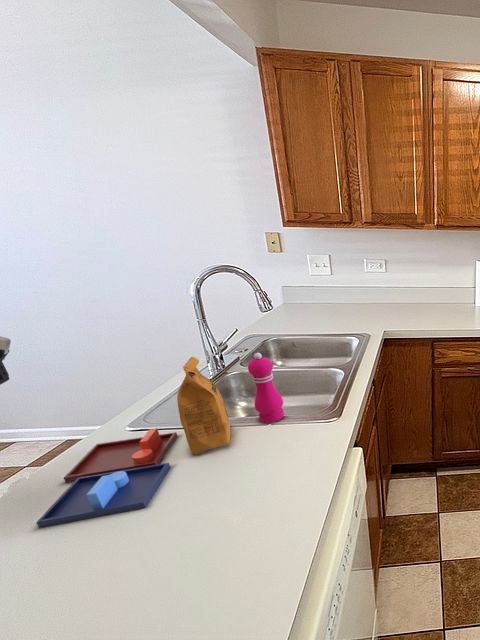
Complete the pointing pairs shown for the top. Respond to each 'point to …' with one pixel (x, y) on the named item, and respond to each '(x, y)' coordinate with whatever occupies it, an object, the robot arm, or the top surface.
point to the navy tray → (125, 499)
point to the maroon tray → (117, 457)
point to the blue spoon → (106, 489)
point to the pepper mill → (265, 390)
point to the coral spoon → (147, 447)
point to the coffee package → (202, 411)
